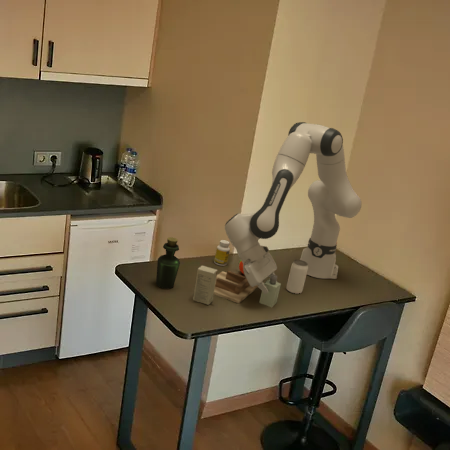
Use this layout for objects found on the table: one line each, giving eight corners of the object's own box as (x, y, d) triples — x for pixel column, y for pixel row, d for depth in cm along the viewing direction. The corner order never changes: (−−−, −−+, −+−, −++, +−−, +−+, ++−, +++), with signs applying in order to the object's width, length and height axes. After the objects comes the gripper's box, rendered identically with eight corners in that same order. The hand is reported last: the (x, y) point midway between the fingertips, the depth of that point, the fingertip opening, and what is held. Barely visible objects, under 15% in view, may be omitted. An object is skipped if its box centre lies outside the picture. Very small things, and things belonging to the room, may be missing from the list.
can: (292, 285, 244) (299, 258, 241) (305, 292, 240) (312, 264, 237) (282, 288, 240) (289, 260, 236) (295, 295, 236) (302, 267, 232)
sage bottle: (264, 298, 228) (270, 271, 224) (276, 302, 226) (282, 276, 223) (259, 302, 223) (265, 275, 220) (271, 307, 222) (278, 280, 218)
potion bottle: (178, 290, 220) (186, 244, 215) (156, 289, 217) (164, 243, 212) (172, 280, 227) (180, 235, 222) (151, 279, 224) (158, 234, 219)
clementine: (239, 277, 242) (243, 261, 239) (232, 270, 248) (235, 254, 245) (257, 277, 245) (260, 261, 243) (249, 270, 251) (253, 254, 249)
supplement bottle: (225, 267, 249) (229, 245, 246) (212, 264, 250) (217, 242, 247) (227, 262, 254) (232, 241, 251) (215, 259, 255) (219, 238, 252)
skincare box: (212, 301, 217) (218, 269, 213) (208, 305, 213) (214, 273, 209) (196, 295, 219) (202, 264, 215) (191, 299, 215) (197, 268, 211)
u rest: (222, 273, 243) (224, 264, 241) (258, 286, 237) (261, 277, 236) (199, 288, 225) (201, 279, 224) (238, 303, 219) (241, 293, 218)
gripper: (248, 259, 212) (268, 294, 212) (269, 245, 231) (287, 277, 230) (234, 267, 215) (254, 301, 215) (255, 252, 233) (274, 284, 233)
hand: (271, 288), depth 223 cm, fingers open, 8 cm apart
